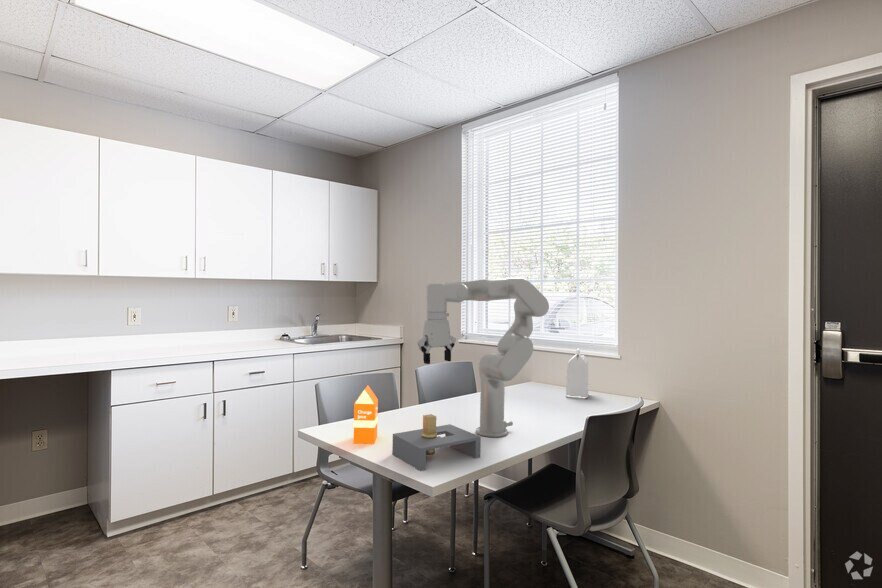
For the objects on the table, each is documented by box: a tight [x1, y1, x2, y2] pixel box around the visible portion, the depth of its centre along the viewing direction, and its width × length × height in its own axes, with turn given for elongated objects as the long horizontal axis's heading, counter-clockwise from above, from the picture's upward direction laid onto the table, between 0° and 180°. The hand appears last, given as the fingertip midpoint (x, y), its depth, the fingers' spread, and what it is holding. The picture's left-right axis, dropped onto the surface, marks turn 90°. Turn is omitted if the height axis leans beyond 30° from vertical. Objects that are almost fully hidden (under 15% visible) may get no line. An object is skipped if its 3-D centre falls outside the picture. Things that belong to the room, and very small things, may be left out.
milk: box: [565, 348, 589, 398], centre depth 266 cm, size 12×12×26 cm
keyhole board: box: [391, 423, 482, 472], centre depth 164 cm, size 24×18×7 cm
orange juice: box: [353, 385, 379, 445], centre depth 180 cm, size 8×9×20 cm
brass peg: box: [422, 413, 438, 456], centre depth 162 cm, size 5×5×12 cm
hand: (437, 362), depth 180 cm, fingers open, 9 cm apart
